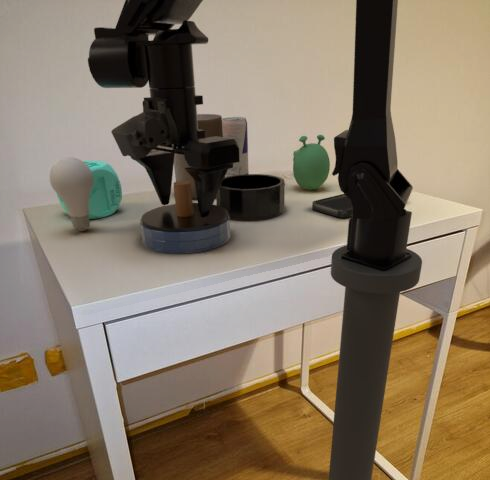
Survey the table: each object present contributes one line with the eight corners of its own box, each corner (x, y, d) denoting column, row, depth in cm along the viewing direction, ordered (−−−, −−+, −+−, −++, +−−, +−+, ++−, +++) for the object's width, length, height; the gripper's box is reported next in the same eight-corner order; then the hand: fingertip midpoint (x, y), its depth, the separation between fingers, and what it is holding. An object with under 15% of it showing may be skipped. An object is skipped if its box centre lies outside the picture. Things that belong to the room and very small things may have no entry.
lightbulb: (64, 239, 69) (46, 163, 64) (60, 228, 74) (43, 156, 69) (105, 233, 71) (91, 158, 66) (99, 222, 76) (86, 152, 71)
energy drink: (251, 176, 103) (250, 117, 97) (243, 181, 98) (241, 120, 92) (229, 175, 104) (226, 116, 98) (220, 180, 100) (217, 119, 94)
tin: (297, 209, 79) (298, 180, 77) (249, 225, 73) (249, 193, 70) (251, 198, 87) (250, 171, 84) (203, 211, 80) (201, 182, 78)
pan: (248, 236, 68) (247, 216, 67) (177, 261, 61) (175, 239, 59) (194, 219, 76) (192, 201, 75) (126, 239, 69) (122, 219, 67)
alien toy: (311, 182, 96) (313, 130, 91) (335, 190, 90) (339, 134, 85) (283, 187, 93) (283, 134, 88) (307, 195, 87) (309, 138, 82)
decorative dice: (85, 222, 77) (74, 172, 72) (60, 214, 81) (49, 166, 77) (125, 211, 82) (118, 164, 78) (100, 204, 86) (92, 158, 82)
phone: (309, 202, 79) (370, 187, 86) (309, 208, 79) (369, 193, 87) (343, 212, 73) (405, 195, 81) (342, 219, 74) (404, 202, 81)
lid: (246, 220, 67) (245, 181, 64) (176, 243, 60) (171, 199, 57) (193, 205, 75) (190, 169, 72) (125, 223, 68) (119, 184, 65)
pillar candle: (235, 193, 90) (232, 108, 82) (191, 202, 85) (183, 113, 78) (210, 184, 97) (204, 105, 89) (167, 192, 92) (158, 109, 85)
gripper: (78, 90, 60) (100, 210, 68) (161, 94, 48) (177, 239, 56) (151, 85, 66) (164, 195, 74) (240, 87, 54) (244, 218, 62)
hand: (184, 210), depth 66 cm, fingers open, 9 cm apart
